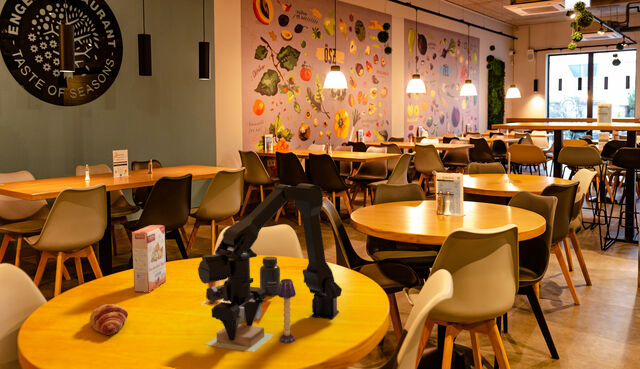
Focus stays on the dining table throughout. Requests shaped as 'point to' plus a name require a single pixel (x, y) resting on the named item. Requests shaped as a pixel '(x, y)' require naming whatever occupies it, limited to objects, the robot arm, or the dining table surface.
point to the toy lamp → (286, 308)
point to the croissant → (108, 318)
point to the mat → (251, 349)
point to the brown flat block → (242, 336)
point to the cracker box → (149, 257)
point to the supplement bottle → (270, 276)
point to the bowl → (242, 314)
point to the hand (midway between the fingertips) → (240, 333)
